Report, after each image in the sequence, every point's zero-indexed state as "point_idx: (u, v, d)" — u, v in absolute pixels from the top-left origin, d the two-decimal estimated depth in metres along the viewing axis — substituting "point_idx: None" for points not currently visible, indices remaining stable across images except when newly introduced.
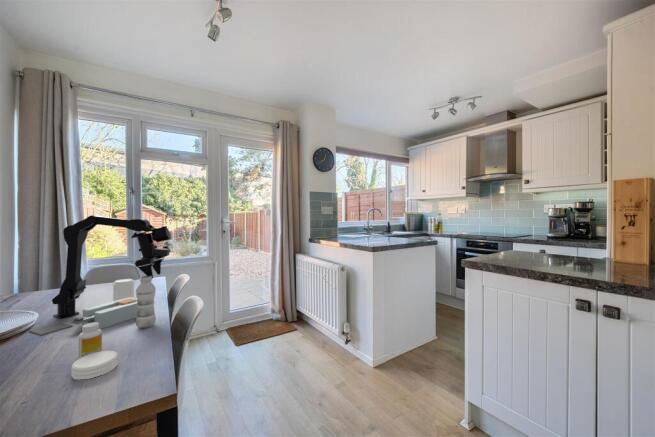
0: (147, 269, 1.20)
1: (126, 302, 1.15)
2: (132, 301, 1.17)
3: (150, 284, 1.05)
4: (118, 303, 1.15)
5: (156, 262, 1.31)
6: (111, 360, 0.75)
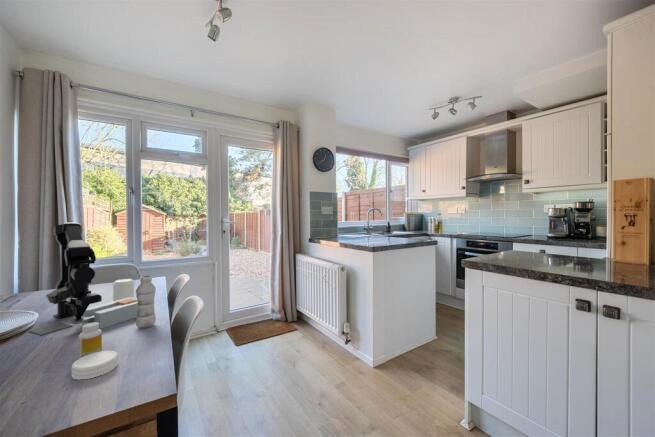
0: None
1: (126, 302, 1.15)
2: (132, 301, 1.17)
3: (150, 284, 1.05)
4: (118, 303, 1.15)
5: None
6: (111, 360, 0.75)
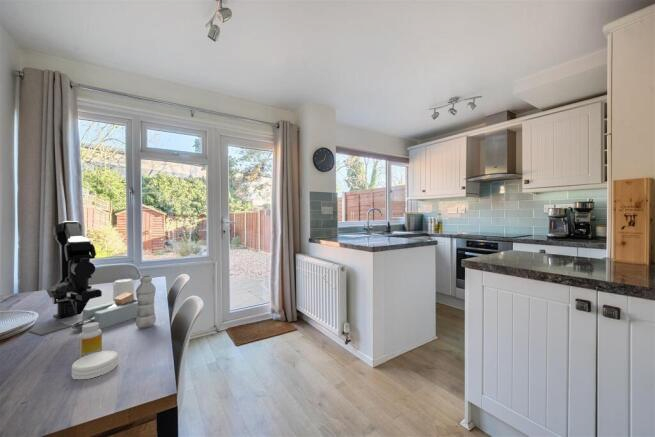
0: None
1: (123, 298, 1.14)
2: (129, 295, 1.16)
3: (150, 284, 1.05)
4: (115, 299, 1.14)
5: None
6: (111, 360, 0.75)
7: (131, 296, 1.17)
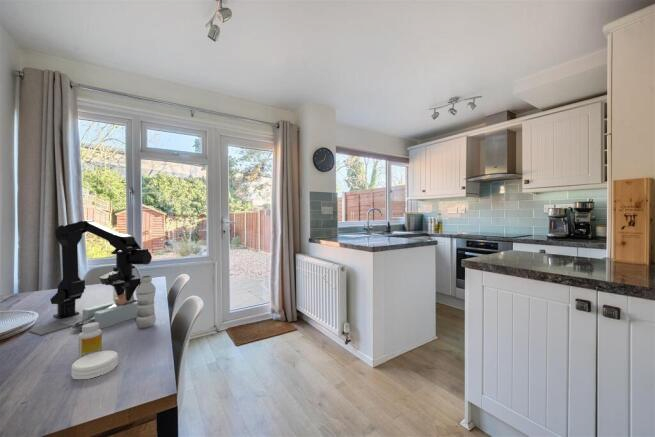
0: None
1: (123, 298, 1.14)
2: None
3: (150, 284, 1.05)
4: (115, 299, 1.14)
5: None
6: (111, 360, 0.75)
7: None
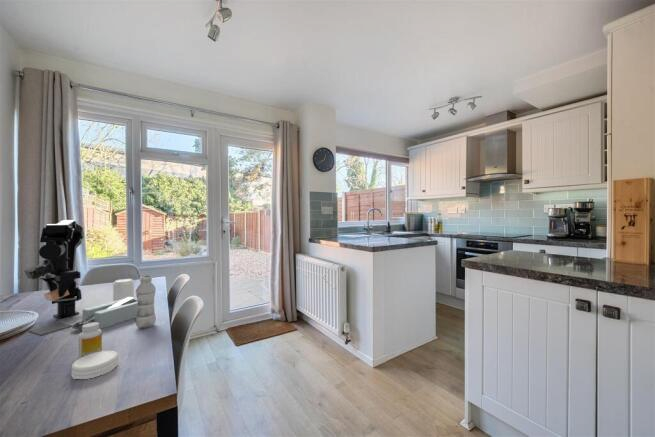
0: None
1: (54, 293, 1.01)
2: None
3: (150, 284, 1.05)
4: (46, 295, 1.01)
5: None
6: (111, 360, 0.75)
7: None
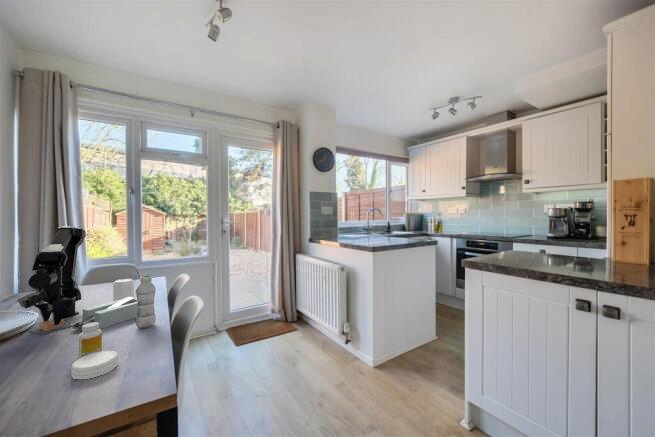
0: None
1: (50, 323, 1.01)
2: None
3: (150, 284, 1.05)
4: (41, 324, 1.01)
5: None
6: (111, 360, 0.75)
7: (61, 323, 1.03)
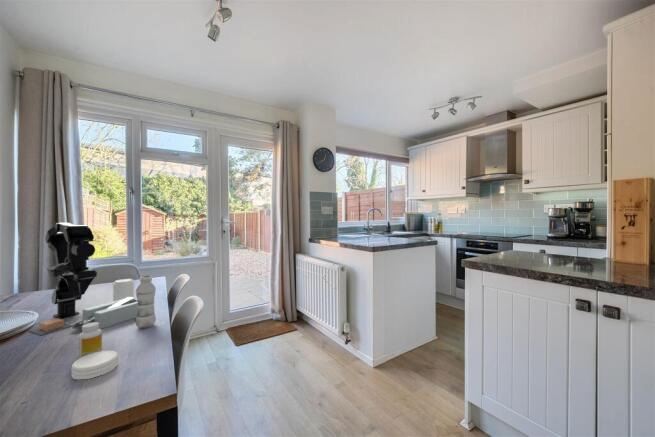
0: None
1: (50, 323, 1.01)
2: (58, 321, 1.03)
3: (150, 284, 1.05)
4: (41, 324, 1.01)
5: None
6: (111, 360, 0.75)
7: (61, 323, 1.03)
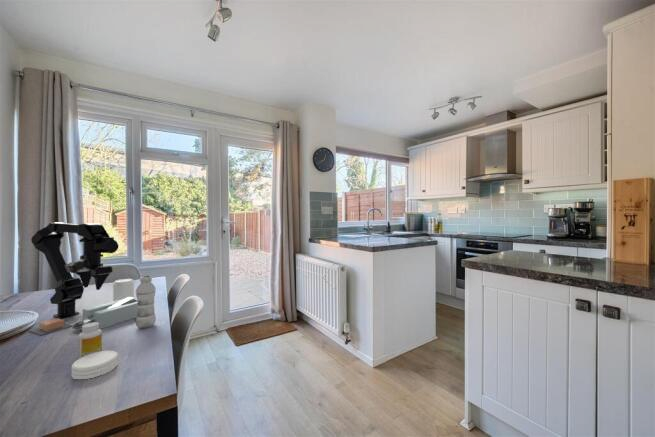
0: None
1: (50, 323, 1.01)
2: (58, 321, 1.03)
3: (150, 284, 1.05)
4: (41, 324, 1.01)
5: None
6: (111, 360, 0.75)
7: (61, 323, 1.03)
